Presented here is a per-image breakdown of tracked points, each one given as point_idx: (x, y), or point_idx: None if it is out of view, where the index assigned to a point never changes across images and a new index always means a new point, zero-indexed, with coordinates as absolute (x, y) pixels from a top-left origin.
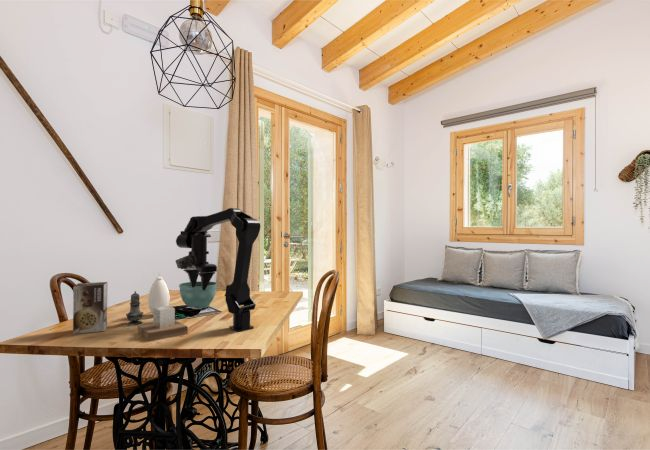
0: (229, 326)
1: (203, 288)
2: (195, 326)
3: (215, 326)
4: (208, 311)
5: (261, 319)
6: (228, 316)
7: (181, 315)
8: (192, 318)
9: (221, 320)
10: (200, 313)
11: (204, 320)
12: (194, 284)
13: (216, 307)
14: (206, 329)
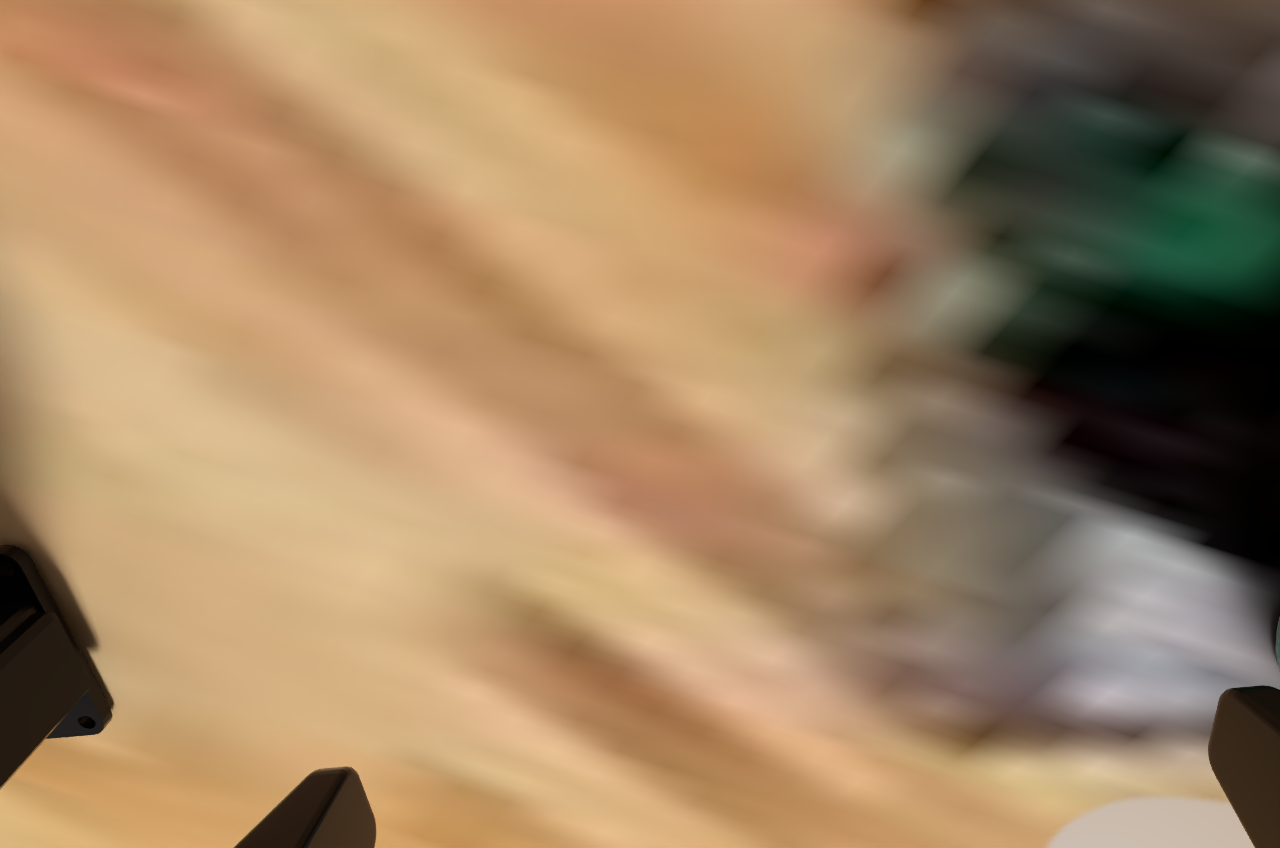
0: (3, 556)
1: (271, 838)
2: (295, 201)
3: (178, 437)
4: (1088, 631)
5: None
6: (630, 723)
7: (1169, 228)
8: (831, 318)
9: (468, 597)
10: (1058, 511)
11: (594, 425)
12: (1276, 844)
13: None
14: (53, 285)
